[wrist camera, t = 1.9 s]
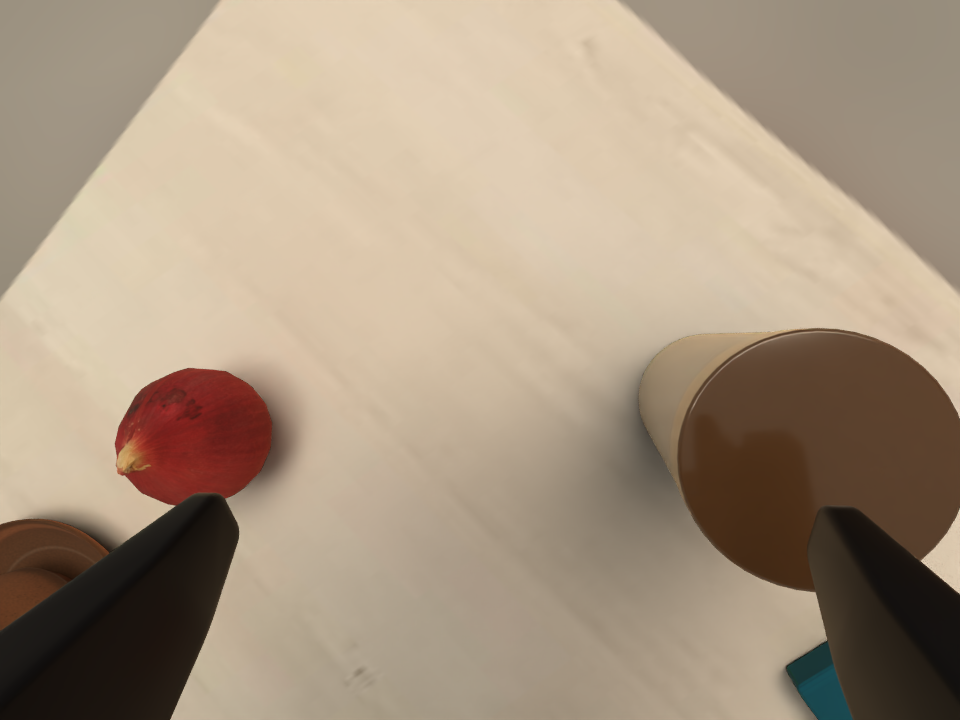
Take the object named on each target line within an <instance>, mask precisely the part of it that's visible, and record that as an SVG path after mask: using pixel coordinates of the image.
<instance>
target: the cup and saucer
mask: <svg viewBox="0 0 960 720" xmlns="http://www.w3.org/2000/svg"><path fill="white" fill-rule="evenodd" d="M108 554H109V552H108V551H107V550H106V549H105V548H104V547H103V546H101V545H100V544H99V543H98V542H97V541H96V540H94V539H93V538H91V537H90V536H89V535H87V534H85V533H84V532H82V531H80V530H78V529H76V528H74V527H72V526H70V525H67V524H64V523H61V522H57V521H53V520H46V519H24V520H17V521H11V522H8V523H4V524H1V525H0V631H1V630H2V629H4V628H5V627H6V626H8V625H9V624H11V623H12V622H13V621H15V620H16V619H18V618H19V617H20V616H22V615H23V614H25V613H26V612H27V611H29V610H30V609H32V608H33V607H35V606H36V605H37V604H39V603H40V602H42V601H43V600H44V599H46V598H47V597H49V596H50V595H51V594H53V593H54V592H56V591H57V590H58V589H60V588H61V587H63V586H64V585H66V584H67V583H68V582H70V581H71V580H73V579H74V578H75V577H77V576H78V575H80V574H81V573H82V572H84V571H85V570H87V569H88V568H89V567H91V566H92V565H94V564H95V563H96V562H98V561H99V560H101V559H102V558H104V557H105V556H106V555H108Z"/></svg>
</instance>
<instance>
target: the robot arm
mask: <svg viewBox="0 0 960 720" xmlns="http://www.w3.org/2000/svg"><path fill="white" fill-rule="evenodd" d="M238 539H239V527H238V524H237V522H236V520H235V518H234V516H233V514H232V512H231V510H230V508H229V506H228V504H227V502H226V500H225V498H224V497H223V496H222V495H221V494H219V493H195V494H193V495H191V496H189V497H188V498H187V499H185V500H184V501H182V502H181V503H179V504H178V505H177V506H175V507H174V508H172V509H171V510H170V511H168V512H167V513H165V514H164V515H163V516H161V517H160V518H158V519H157V520H156V521H154V522H153V523H151V524H150V525H149V526H147V527H146V528H144V529H143V530H141V531H140V532H139V533H137V534H136V535H134V536H133V537H132V538H130V539H129V540H127V541H126V542H125V543H123V544H122V545H120V546H119V547H118V548H116V549H115V550H113V551H112V552H111V553H109V554H108V555H106V556H105V557H104V558H102V559H101V560H99V561H98V562H96V563H95V564H94V565H92V566H91V567H89V568H88V569H87V570H85V571H84V572H82V573H81V574H80V575H78V576H77V577H75V578H74V579H73V580H71V581H70V582H68V583H67V584H66V585H64V586H63V587H61V588H60V589H58V590H57V591H56V592H54V593H53V594H51V595H50V596H49V597H47V598H46V599H44V600H43V601H42V602H40V603H39V604H37V605H36V606H35V607H33V608H32V609H30V610H29V611H27V612H26V613H25V614H23V615H22V616H20V617H19V618H18V619H16V620H15V621H13V622H12V623H11V624H9V625H8V626H6V627H5V628H4V629H2V630H1V631H0V720H170V719H171V717H172V714H173V712H174V710H175V707H176V705H177V703H178V700H179V698H180V696H181V694H182V691H183V689H184V687H185V684H186V682H187V680H188V678H189V675H190V673H191V671H192V668H193V666H194V664H195V661H196V659H197V657H198V655H199V652H200V650H201V648H202V645H203V643H204V641H205V638H206V636H207V633H208V631H209V628H210V625H211V622H212V620H213V617H214V614H215V611H216V608H217V605H218V602H219V599H220V596H221V592H222V589H223V586H224V583H225V580H226V577H227V574H228V571H229V568H230V565H231V562H232V559H233V556H234V552H235V549H236V546H237V543H238ZM807 556H808V562H809V566H810V570H811V574H812V578H813V583H814V587H815V591H816V595H817V599H818V603H819V607H820V611H821V615H822V619H823V623H824V628H825V632H826V636H827V640H828V644H829V648H830V652H831V656H832V660H833V663H834V667H835V671H836V674H837V677H838V680H839V682H840V685H841V688H842V691H843V694H844V697H845V699H846V702H847V705H848V708H849V710H850V713H851V716H852V719H853V720H960V594H959V593H958V592H956V591H955V590H954V589H953V588H952V587H950V586H949V585H948V584H947V583H946V582H944V581H943V580H942V579H941V578H940V577H939V576H937V575H936V574H935V573H934V572H933V571H931V570H930V569H929V568H928V567H927V566H925V565H924V564H923V563H922V562H921V561H920V560H918V559H917V558H916V557H915V556H914V555H912V554H911V553H910V552H909V551H908V550H906V549H905V548H904V547H903V546H902V545H901V544H899V543H898V542H897V541H896V540H895V539H893V538H892V537H891V536H890V535H889V534H887V533H886V532H885V531H884V530H883V529H882V528H880V527H879V526H878V525H877V524H876V523H874V522H873V521H872V520H871V519H870V518H868V517H867V516H866V515H865V514H864V513H863V512H861V511H860V510H859V509H857V508H855V507H852V506H834V505H825V506H822V507H821V508H820V509H819V510H818V512H817V515H816V518H815V521H814V525H813V528H812V531H811V534H810V537H809V540H808V545H807Z"/></svg>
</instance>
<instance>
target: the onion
mask: <svg viewBox="0 0 960 720" xmlns="http://www.w3.org/2000/svg"><path fill="white" fill-rule="evenodd" d="M271 432H272V421H271V418H270V415H269V412H268V409H267V406H266V404H265V402H264V401H263V400H262V399H261V397H260V396H259V395H258V394H257V392H256V391H255V390H254V389H253V388H252V387H251V386H250V385H249V384H248V383H246V382H244V381H243V380H241V379H239V378H237V377H235V376H234V375H232V374H230V373H228V372H226V371H219V370H209V369H195V368H187V369H183V370H180V371H177V372H174V373H172V374H169V375H167V376H165V377H163V378H161V379H159V380H156V381H154V382H152V383H150V384H149V385H147V386H146V387H144V388H143V389H141V391H140V392H139V393H138V394H137V395H136V396H135V398H134V400H133V401H132V403H131V405H130V407H129V409H128V411H127V412H126V414H125V416H124V418H123V420H122V421H121V424H120V426H119V428H118V432H117V437H116V441H115V447H116V453H117V462H116V467H117V473H118V474H120V475H122V476H123V475H125V476H126V477H127V478H128V479H129V480H130V481H131V482H132V483H133V484H134V486H135V487H136V488H137V489H138V490H139V491H140V492H141V493H143V494H145V495H147V496H150V497H152V498H154V499H157V500H159V501H162V502H164V503H166V504H170V505H176V506H177V505H178V504H179V503H181V502H182V501H184V500H185V499H187V498H188V497H189V496H191V495H193V494H195V493H219V494H221V495H222V496H223V497H224V498H228V497H230V496H232V495H235V494H236V493H238V492H239V491H240V490H242V489H243V488H245V487H246V485H247V484H248V483H249V482H250V481H251V480H252V479H253V478H254V477H255V476H256V475H257V474H258V473H259V472H260V471H261V469H262V467H263V465H264V462H265V460H266V458H267V455H268V453H269V450H270V448H271Z"/></svg>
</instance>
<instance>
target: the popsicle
mask: <svg viewBox="0 0 960 720" xmlns="http://www.w3.org/2000/svg"><path fill="white" fill-rule="evenodd" d="M787 672H788V674H789V676H790V678H791V680H792V681H793V683H794V685H795V687H796V689H797V690H798V692H799V694H800V695H801V697H802V699H803V700H804V701H805V703H806V704H807V705H808V707H809V708H810V709H811V711H812V712H813V713H814V715H815V716H816V717H817V719H818V720H853V719H852V716H851V713H850V710H849V708H848V705H847V702H846V699H845V697H844V694H843V691H842V688H841V685H840V682H839V680H838V677H837V674H836V671H835V667H834V663H833V660H832V656H831V652H830V648H829V644H828V641H827V642H826V643H824V644H823V645H821V646H819V647H818V648H816V649H814V650H813V651H811V652H810V653H808V654H806V655H805V656H803V657H802V658H800V659H798V660H797V661H795V662H793V663H792V664H790V665H789V666H787Z"/></svg>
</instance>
